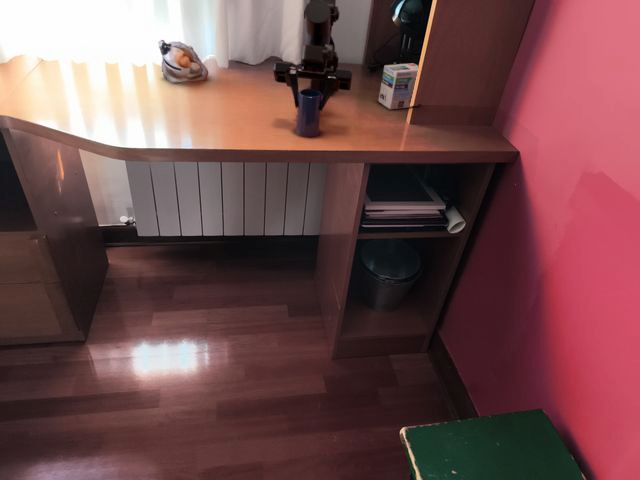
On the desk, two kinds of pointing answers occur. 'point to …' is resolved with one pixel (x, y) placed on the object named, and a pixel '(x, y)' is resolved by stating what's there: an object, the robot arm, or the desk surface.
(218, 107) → the desk surface
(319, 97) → the pencil cup
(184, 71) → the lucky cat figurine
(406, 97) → the light bulb box
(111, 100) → the desk surface
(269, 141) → the desk surface
